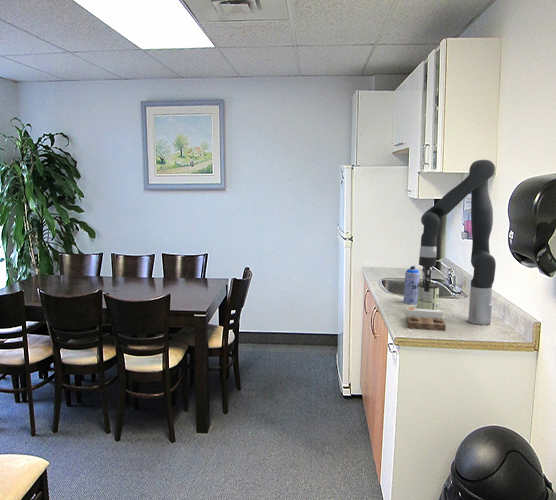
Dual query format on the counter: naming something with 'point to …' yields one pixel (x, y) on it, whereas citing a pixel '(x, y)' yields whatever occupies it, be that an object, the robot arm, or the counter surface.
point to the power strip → (424, 313)
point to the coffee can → (428, 297)
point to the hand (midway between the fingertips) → (425, 289)
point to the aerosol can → (411, 286)
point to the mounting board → (426, 323)
